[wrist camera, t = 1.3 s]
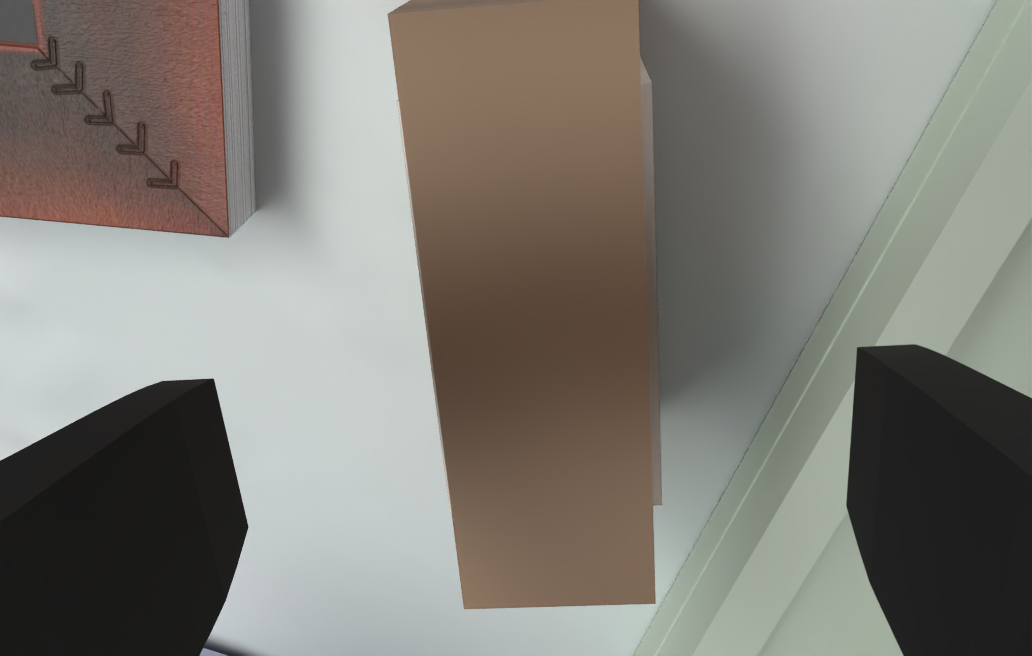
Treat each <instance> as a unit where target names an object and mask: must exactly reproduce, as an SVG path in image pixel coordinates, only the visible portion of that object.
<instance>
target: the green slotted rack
mask: <svg viewBox="0 0 1032 656" xmlns="http://www.w3.org/2000/svg"><path fill="white" fill-rule="evenodd" d="M909 344H916V345H919V346H922V347H925V348H928V349H931V350H933V351H936V352H938V353H940V354H943V355H945V356H947V357H949V358H951V359H953V360H956V361H958V362H960V363H962V364H964V365H966V366H968V367H970V368H972V369H974V370H976V371H978V372H980V373H982V374H984V375H986V376H988V377H990V378H992V379H994V380H996V381H998V382H1000V383H1002V384H1004V385H1006V386H1008V387H1010V388H1012V389H1014V390H1016V391H1018V392H1020V393H1022V394H1024V395H1026V396H1028V397H1031V398H1032V0H997V2H996V4H995V5H994V7H993V9H992V11H991V13H990V14H989V16H988V18H987V20H986V22H985V23H984V25H983V27H982V29H981V31H980V32H979V34H978V36H977V38H976V40H975V41H974V43H973V45H972V47H971V49H970V50H969V52H968V54H967V56H966V58H965V59H964V61H963V63H962V65H961V67H960V68H959V70H958V72H957V74H956V76H955V77H954V79H953V81H952V83H951V85H950V86H949V88H948V90H947V92H946V94H945V95H944V97H943V99H942V101H941V103H940V104H939V106H938V108H937V110H936V112H935V113H934V115H933V117H932V119H931V121H930V122H929V124H928V126H927V128H926V130H925V131H924V133H923V135H922V137H921V139H920V140H919V142H918V144H917V146H916V148H915V149H914V151H913V153H912V155H911V157H910V158H909V160H908V162H907V164H906V166H905V167H904V169H903V171H902V173H901V175H900V176H899V178H898V180H897V182H896V184H895V185H894V187H893V189H892V191H891V193H890V194H889V196H888V198H887V200H886V202H885V203H884V205H883V207H882V209H881V211H880V212H879V214H878V216H877V218H876V220H875V221H874V223H873V225H872V227H871V229H870V230H869V232H868V234H867V236H866V238H865V240H864V241H863V243H862V245H861V247H860V249H859V250H858V252H857V254H856V256H855V258H854V259H853V261H852V263H851V265H850V267H849V268H848V270H847V272H846V274H845V276H844V277H843V279H842V281H841V283H840V285H839V286H838V288H837V290H836V292H835V294H834V295H833V297H832V299H831V301H830V303H829V304H828V306H827V308H826V310H825V312H824V313H823V315H822V317H821V319H820V321H819V322H818V324H817V326H816V328H815V330H814V331H813V333H812V335H811V337H810V339H809V340H808V342H807V344H806V346H805V348H804V349H803V351H802V353H801V355H800V357H799V358H798V360H797V362H796V364H795V366H794V367H793V369H792V371H791V373H790V375H789V376H788V378H787V380H786V382H785V384H784V385H783V387H782V389H781V391H780V393H779V394H778V396H777V398H776V400H775V402H774V403H773V405H772V407H771V409H770V411H769V412H768V414H767V416H766V418H765V420H764V421H763V423H762V425H761V427H760V429H759V430H758V432H757V434H756V436H755V438H754V439H753V441H752V443H751V445H750V447H749V448H748V450H747V452H746V454H745V456H744V457H743V459H742V461H741V463H740V465H739V466H738V468H737V470H736V472H735V474H734V475H733V477H732V479H731V481H730V483H729V484H728V486H727V488H726V490H725V492H724V493H723V495H722V497H721V499H720V501H719V503H718V504H717V506H716V508H715V510H714V512H713V513H712V515H711V517H710V519H709V521H708V522H707V524H706V526H705V528H704V530H703V531H702V533H701V535H700V537H699V539H698V540H697V542H696V544H695V546H694V548H693V549H692V551H691V553H690V555H689V557H688V558H687V560H686V562H685V564H684V566H683V567H682V569H681V571H680V573H679V575H678V576H677V578H676V580H675V582H674V584H673V585H672V587H671V589H670V591H669V593H668V594H667V596H666V598H665V600H664V602H663V603H662V605H661V607H660V609H659V611H658V612H657V614H656V616H655V618H654V620H653V621H652V623H651V625H650V627H649V629H648V630H647V632H646V634H645V636H644V638H643V639H642V641H641V643H640V645H639V647H638V648H637V650H636V652H635V654H634V656H903V654H902V652H901V650H900V648H899V645H898V643H897V641H896V639H895V637H894V635H893V633H892V630H891V628H890V626H889V624H888V622H887V620H886V618H885V615H884V613H883V611H882V609H881V607H880V605H879V602H878V600H877V598H876V596H875V594H874V591H873V589H872V587H871V585H870V583H869V580H868V576H867V573H866V570H865V567H864V564H863V561H862V558H861V555H860V551H859V548H858V545H857V541H856V538H855V535H854V531H853V528H852V524H851V521H850V517H849V514H848V510H847V507H846V500H847V486H848V471H849V457H850V443H851V428H852V414H853V399H854V385H855V370H856V356H857V347H868V346H889V345H909Z"/></svg>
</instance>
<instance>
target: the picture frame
mask: <svg viewBox="0 0 1032 656" xmlns="http://www.w3.org/2000/svg"><path fill="white" fill-rule="evenodd" d="M255 212H256V198H255V168H254V139H253V109H252V79H251V49H250V19H249V0H0V217H11V218H22V219H33V220H43V221H54V222H65V223H76V224H87V225H98V226H109V227H119V228H130V229H141V230H152V231H163V232H174V233H185V234H195V235H206V236H217V237H228V238H229V237H230V236H231V235H232V234H233V233H234V232H235V231H236V230H237V229H238V228H239V227H240V226H241V225H242V224H243V223H244V222H245V221H246V220H247V219H248V218H250V217H251V216H252V215H253V214H254V213H255Z"/></svg>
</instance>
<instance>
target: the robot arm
mask: <svg viewBox="0 0 1032 656" xmlns="http://www.w3.org/2000/svg"><path fill="white" fill-rule="evenodd" d="M846 507H847V510H848V514H849V517H850V521H851V524H852V528H853V531H854V535H855V538H856V541H857V545H858V548H859V551H860V555H861V558H862V561H863V564H864V567H865V570H866V573H867V576H868V580H869V583H870V585H871V587H872V589H873V591H874V594H875V596H876V598H877V600H878V602H879V605H880V607H881V609H882V611H883V613H884V615H885V618H886V620H887V622H888V624H889V626H890V628H891V630H892V633H893V635H894V637H895V639H896V641H897V643H898V645H899V648H900V650H901V652H902V654H903V656H1032V398H1031V397H1028V396H1026V395H1024V394H1022V393H1020V392H1018V391H1016V390H1014V389H1012V388H1010V387H1008V386H1006V385H1004V384H1002V383H1000V382H998V381H996V380H994V379H992V378H990V377H988V376H986V375H984V374H982V373H980V372H978V371H976V370H974V369H972V368H970V367H968V366H966V365H964V364H962V363H960V362H958V361H956V360H953V359H951V358H949V357H947V356H945V355H943V354H940V353H938V352H936V351H933V350H931V349H928V348H925V347H922V346H919V345H916V344H909V345H889V346H868V347H857V356H856V370H855V385H854V399H853V414H852V428H851V443H850V457H849V471H848V486H847V500H846ZM247 530H248V524H247V519H246V515H245V511H244V506H243V502H242V498H241V494H240V489H239V485H238V481H237V476H236V472H235V468H234V464H233V459H232V455H231V451H230V446H229V442H228V438H227V433H226V429H225V425H224V421H223V416H222V412H221V408H220V403H219V399H218V395H217V391H216V386H215V382H214V379H196V380H176V381H162V382H159V383H156V384H153V385H150V386H147V387H145V388H142V389H140V390H137V391H135V392H133V393H131V394H129V395H126V396H124V397H122V398H120V399H118V400H116V401H114V402H112V403H110V404H108V405H106V406H104V407H102V408H100V409H98V410H96V411H94V412H92V413H90V414H89V415H87V416H85V417H83V418H81V419H79V420H77V421H75V422H73V423H71V424H69V425H68V426H66V427H64V428H62V429H60V430H58V431H56V432H54V433H52V434H51V435H49V436H47V437H45V438H43V439H41V440H39V441H37V442H35V443H33V444H32V445H30V446H28V447H26V448H24V449H22V450H20V451H18V452H16V453H15V454H13V455H11V456H9V457H7V458H5V459H3V460H1V461H0V656H227V655H224V654H221V653H218V652H215V651H212V650H208V649H205V648H203V647H204V645H205V643H206V641H207V639H208V637H209V635H210V633H211V631H212V629H213V627H214V625H215V622H216V620H217V618H218V616H219V614H220V612H221V609H222V607H223V605H224V603H225V601H226V598H227V595H228V592H229V589H230V586H231V583H232V580H233V577H234V574H235V571H236V568H237V564H238V561H239V558H240V554H241V551H242V547H243V544H244V540H245V537H246V534H247Z"/></svg>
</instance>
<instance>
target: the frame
mask: <svg viewBox="0 0 1032 656" xmlns="http://www.w3.org/2000/svg"><path fill="white" fill-rule="evenodd" d="M388 20H389V27H390V35H391V43H392V51H393V59H394V66H395V74H396V82H397V90H398V98H399V100H398V101H397V107H398V114H399V122H400V130H401V138H402V145H403V153H404V161H405V168H406V176H407V184H408V192H409V199H410V207H411V215H412V223H413V230H414V238H415V246H416V254H417V261H418V269H419V277H420V285H421V292H422V300H423V308H424V316H425V323H426V331H427V339H428V347H429V354H430V362H431V370H432V378H433V385H434V393H435V401H436V409H437V416H438V424H439V432H440V440H441V447H442V455H443V463H444V471H445V478H446V486H447V494H448V502H449V509H450V513H452V519H453V527H454V534H455V542H456V550H457V558H458V566H459V573H460V581H461V589H462V597H463V605H464V609H485V608H520V607H555V606H590V605H625V604H656V603H655V568H654V533H653V505H662V483H661V441H660V399H659V356H658V314H657V272H656V229H655V187H654V145H653V103H652V82H651V79H650V77H649V75H648V73H647V70H646V68H645V66H644V64H643V61H642V59H641V57H640V37H639V1H638V0H410V1H408V2H407V3H405V4H403V5H402V6H400V7H398V8H397V9H395V10H394V11H392V12H390V13H389V14H388Z"/></svg>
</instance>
